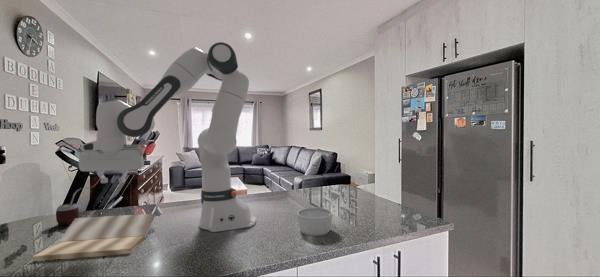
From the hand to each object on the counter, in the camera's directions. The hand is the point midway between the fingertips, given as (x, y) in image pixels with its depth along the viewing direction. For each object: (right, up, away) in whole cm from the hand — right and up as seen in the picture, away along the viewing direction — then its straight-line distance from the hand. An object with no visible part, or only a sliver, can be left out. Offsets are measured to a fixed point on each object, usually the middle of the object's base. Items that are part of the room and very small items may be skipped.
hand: (113, 182), depth 97 cm
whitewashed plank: (+1, -16, -2) cm, 17 cm away
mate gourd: (-26, -19, +12) cm, 35 cm away
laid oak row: (+3, -20, -13) cm, 23 cm away
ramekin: (+74, -19, +2) cm, 76 cm away
